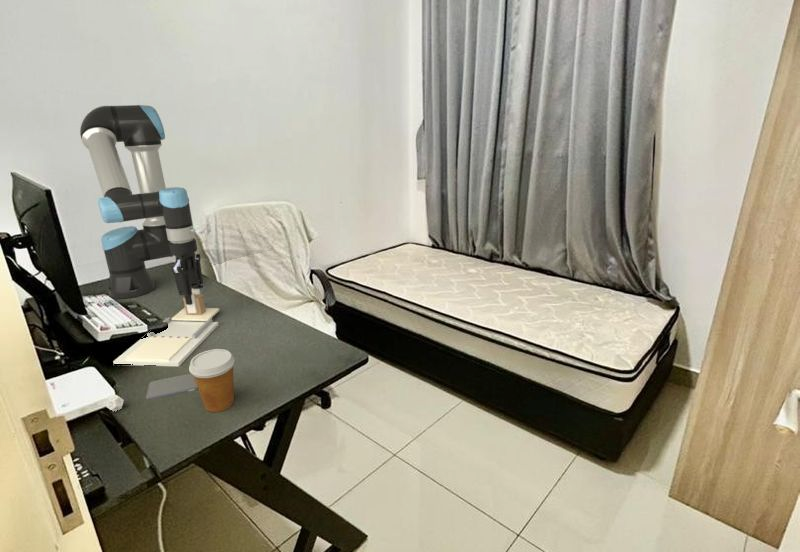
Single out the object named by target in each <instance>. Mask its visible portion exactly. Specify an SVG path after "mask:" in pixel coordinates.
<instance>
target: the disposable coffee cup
mask: <svg viewBox="0 0 800 552" xmlns="http://www.w3.org/2000/svg"><path fill="white" fill-rule="evenodd" d="M189 362H190V363H189V366H188V371H189V373H191V374H192V375H193V377H194V379H195V382H196V385H197V387H198V389H197V391H198V393H199V395H200V397H201V400H202V403H203V406H204V408H205V410H206V411H208V412H210V413H219V412H222V411H225V410H227V409H230V408H231V406H232V405H234V402H235V391H234V390H235V389H234V388H235V387H234V386H235V385H234V384H235V383H234V364H235V362H236V361H235V357H234V356H233V355H232V353H231V352H230V351H229V350H227V349H222V348H214V349H213V348H212V349H208V350H205V351H202V352H200V353H198V354H196V355H195V356H193V357H192V358H191V360H190V361H189Z"/></svg>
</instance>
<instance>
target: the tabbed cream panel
mask: <svg viewBox="0 0 800 552" xmlns="http://www.w3.org/2000/svg"><path fill="white" fill-rule="evenodd" d="M194 297H195V302H196V307H197V313H188V310H187V305H186V300H185V296H183V297H182V300H183V305H184V308H182V309H181V310H179V312H178V313H176V314H175V315H173V316H172V317H170V319H171V321H189V322H206V321H207V320H208V319H209V318H212V319H213V317H215V315H216V314H218V312H220V308H216V307H215V308H214V307H213V308H212V307H210V308H209V307H206V305H205V299H204V294H203V293H201V294H194Z"/></svg>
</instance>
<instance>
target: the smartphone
mask: <svg viewBox="0 0 800 552" xmlns="http://www.w3.org/2000/svg"><path fill="white" fill-rule="evenodd" d="M191 391H198V387H197V385H196V382H195V379H194V377H193V375H192V374H191V372H189V373H186V374H182V375H176V376H172V377H167V378H161V379H158V380H156V379H155V380H152V381H150V382H149V383H148V387H147V391H146V395H145V400H151V399H157V398H163V397H167V396H173V395H178V394H182V393H187V392H191Z"/></svg>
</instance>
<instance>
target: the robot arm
mask: <svg viewBox="0 0 800 552" xmlns="http://www.w3.org/2000/svg"><path fill="white" fill-rule="evenodd" d="M79 129H80V131H79V134H80V139H81V142H82V144H83V146H84V147H86V149H88V151H89V155H90V158H91V161H92V165H93V167H94V170H95V171H94V172H95V174H96V177H97V181H98V183H99V186H100V190H101V192H102V195H103V197H100V198H98V200H97V202H98V203H97V204H98V207H99V211H100V215H101V218H102V221H103V222H104V223H105V224H106V223H107V224H115V223H124V222H129V221H136V220H143V219H145V220H144V221H143V222H142V229H138V228H137V226H134V225H131V226H121V227H118V228H115V229H112V230H109V231H107V232H105V233H103V235H102V236H101V245H102V246H101V247H102V248H101V249H102V250H103V252H104V256H105V261H106V264H107V269H108V273H109V276H108V286H107V291H108V295H109V297H110V296H111V298H114V299H129V298H135V297H140V296H143V295H145V294H148V293H150V292H152V291H154V290H155V289H156V284H155V280H154V279H153V278H152V276H151V274H150V272H149V270H148V269H147V268H146V264H145V262H147V261H154V260H158V259H164V258H169V257H171V258H173V257H175V265H174V266H171V268H170V269H171V272H172V274H173V277H174V280H175V284H176V288H177V292H178V295H179V296H183V297H185V300H186V305H187V310H188V313H197V307H196V302H195V297H194V294H202V293H201V289H203V288H204V286H203V284H204V283H203V282H204V281H203V273H202V272H203V271H202V266H201V254H200V253H196V252H197V251H198V244H197V240H196V238H195V237H196V236H195V234H196V233H195V229H194V224H193V219H192V213H191V207H190V198H189V196H188V191H187V189H186V188H184V187H180V186H179V187H178V186H177V187H176V186H175V187H174V186H173V187H172V186H171V187H166V183H165V178H164V173H163V168H162V162H161V159H160V153H159V152H160V151H159V150H160V148H161V147H162V146H163V145H162V141H164V140H165V139H166V134H165V128H164V126H163V122H162V120H161V117H160V115H159V113H158V111H157V109H156V108H155V107H153V106H151V105H147V104H146V105H144V104H143V105H141V104H136V105H135V104H134V105H132V104H131V105H129V104H128V105H101V106H97V107H96V108H93V109H92V110H91V111H90V112H88V113H87V114H86V116H85V117H84V119H83V120H82V122H81V126H80V128H79ZM121 142H122V143H123V144H124V148H125V149H126V150H128V151H129V152H130V154H131V157H132V163H133V166H134V171H135V175H136V181H137V185H138V190H139V193H135V194H134V193H133V191H132V189H131V186H130V183H129V180H128V178H127V175H126V172H125V169H124V167H123V163H122V161H121V158H120V156H119V153H118V150H117V147H116V145H117V143H121Z"/></svg>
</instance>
